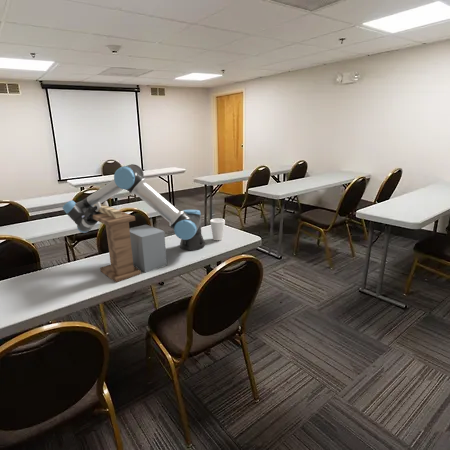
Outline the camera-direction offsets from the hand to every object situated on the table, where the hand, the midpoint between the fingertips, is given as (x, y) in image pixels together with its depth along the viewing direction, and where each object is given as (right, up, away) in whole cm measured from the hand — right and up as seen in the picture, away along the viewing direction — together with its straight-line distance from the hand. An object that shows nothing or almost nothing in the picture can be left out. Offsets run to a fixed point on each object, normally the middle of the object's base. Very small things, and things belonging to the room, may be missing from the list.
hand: (103, 203), depth 158 cm
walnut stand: (+8, -35, +3) cm, 36 cm away
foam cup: (+56, -20, +49) cm, 78 cm away
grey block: (+19, -32, +13) cm, 39 cm away
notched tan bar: (+3, -5, -1) cm, 6 cm away
